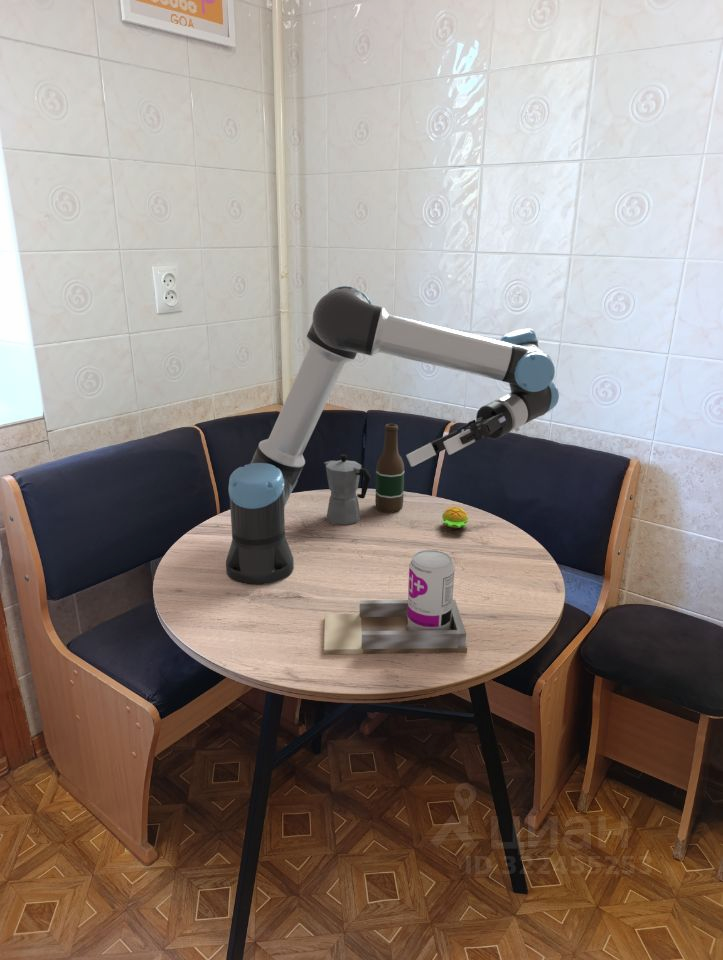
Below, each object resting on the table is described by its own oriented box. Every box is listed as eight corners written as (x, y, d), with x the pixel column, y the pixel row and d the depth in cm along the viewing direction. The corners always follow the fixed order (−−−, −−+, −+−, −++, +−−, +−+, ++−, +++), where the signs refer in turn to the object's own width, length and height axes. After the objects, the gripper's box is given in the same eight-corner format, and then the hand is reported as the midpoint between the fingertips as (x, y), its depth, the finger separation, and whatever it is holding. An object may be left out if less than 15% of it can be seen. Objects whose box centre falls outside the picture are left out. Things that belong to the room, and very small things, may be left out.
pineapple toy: (468, 521, 176) (469, 503, 175) (467, 537, 167) (468, 517, 165) (442, 519, 177) (443, 501, 176) (440, 535, 168) (441, 515, 166)
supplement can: (419, 645, 120) (422, 572, 115) (399, 622, 128) (402, 552, 122) (458, 636, 123) (463, 564, 118) (437, 614, 130) (441, 545, 125)
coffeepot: (313, 517, 178) (312, 453, 172) (336, 507, 185) (336, 445, 179) (358, 532, 169) (358, 466, 163) (380, 521, 176) (381, 457, 170)
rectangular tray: (324, 654, 119) (323, 635, 118) (325, 618, 131) (324, 600, 129) (467, 652, 120) (468, 633, 119) (455, 617, 132) (457, 599, 130)
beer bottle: (408, 507, 185) (411, 424, 177) (390, 515, 180) (393, 430, 171) (387, 500, 190) (389, 419, 182) (369, 507, 185) (370, 424, 176)
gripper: (549, 419, 130) (473, 460, 120) (472, 444, 152) (403, 481, 142) (533, 384, 130) (456, 423, 120) (459, 414, 152) (388, 449, 142)
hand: (427, 454), depth 131 cm, fingers open, 13 cm apart
